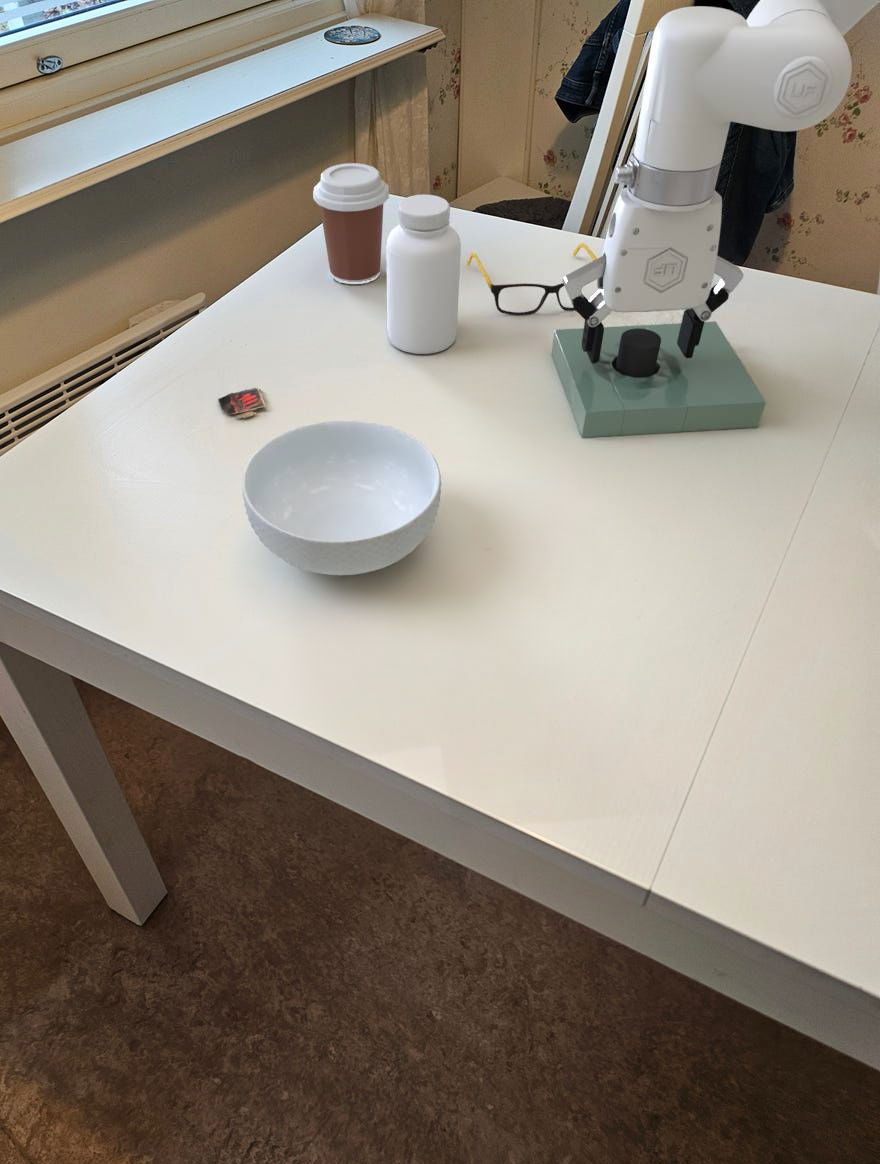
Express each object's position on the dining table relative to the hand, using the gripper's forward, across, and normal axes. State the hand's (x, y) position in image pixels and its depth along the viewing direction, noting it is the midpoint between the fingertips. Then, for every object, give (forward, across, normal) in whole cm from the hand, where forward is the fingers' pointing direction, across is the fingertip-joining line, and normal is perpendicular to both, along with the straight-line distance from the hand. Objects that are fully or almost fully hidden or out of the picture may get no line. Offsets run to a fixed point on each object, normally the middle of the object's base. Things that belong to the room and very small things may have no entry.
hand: (638, 353), depth 92 cm
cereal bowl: (+4, -31, -21) cm, 38 cm away
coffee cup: (+4, -28, +30) cm, 41 cm away
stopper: (+4, 0, 0) cm, 4 cm away
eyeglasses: (+4, -6, +24) cm, 25 cm away
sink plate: (+4, +2, 0) cm, 5 cm away
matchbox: (+4, -41, +1) cm, 41 cm away
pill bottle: (+4, -21, +13) cm, 25 cm away
